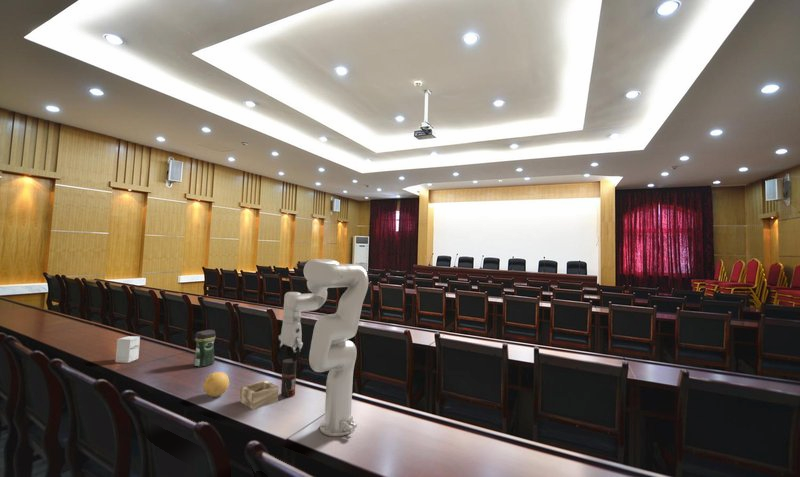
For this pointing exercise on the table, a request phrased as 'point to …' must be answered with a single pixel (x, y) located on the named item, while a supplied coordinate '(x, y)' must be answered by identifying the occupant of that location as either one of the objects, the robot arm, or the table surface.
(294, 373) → the deodorant
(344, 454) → the table surface
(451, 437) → the table surface
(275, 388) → the wooden box
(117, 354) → the supplement box
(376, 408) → the table surface
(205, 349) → the coffee jar
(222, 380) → the stress ball
